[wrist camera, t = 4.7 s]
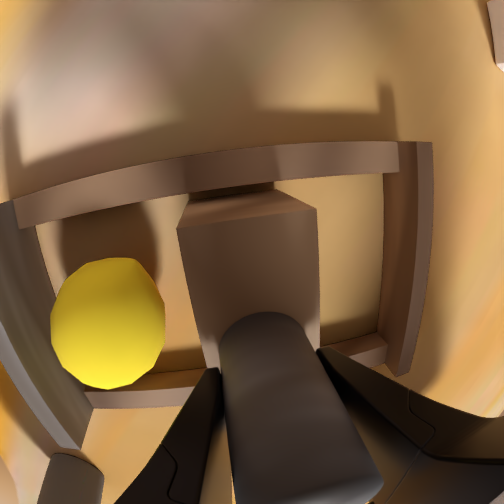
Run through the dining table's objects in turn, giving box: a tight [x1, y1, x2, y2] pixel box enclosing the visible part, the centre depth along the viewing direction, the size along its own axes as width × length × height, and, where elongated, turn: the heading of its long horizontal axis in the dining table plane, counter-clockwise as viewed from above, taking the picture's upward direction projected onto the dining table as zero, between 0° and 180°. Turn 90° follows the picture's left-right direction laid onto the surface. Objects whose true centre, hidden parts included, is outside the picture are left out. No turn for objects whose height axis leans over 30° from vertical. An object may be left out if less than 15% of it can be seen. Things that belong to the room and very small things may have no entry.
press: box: [0, 141, 434, 450], centre depth 12 cm, size 21×13×5 cm, turn 96°
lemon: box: [50, 258, 165, 389], centre depth 12 cm, size 7×5×5 cm
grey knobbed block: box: [176, 189, 384, 504], centre depth 9 cm, size 4×9×11 cm, turn 6°
